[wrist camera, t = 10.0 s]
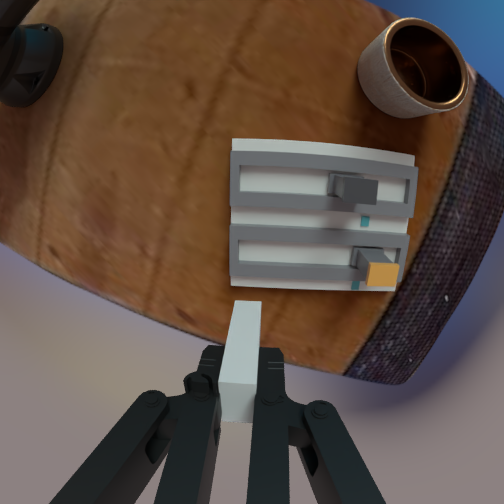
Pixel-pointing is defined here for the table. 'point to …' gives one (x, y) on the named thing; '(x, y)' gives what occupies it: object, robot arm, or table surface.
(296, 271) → the console
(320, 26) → the table surface
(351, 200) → the fader
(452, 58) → the planter
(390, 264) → the fader
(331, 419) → the robot arm
